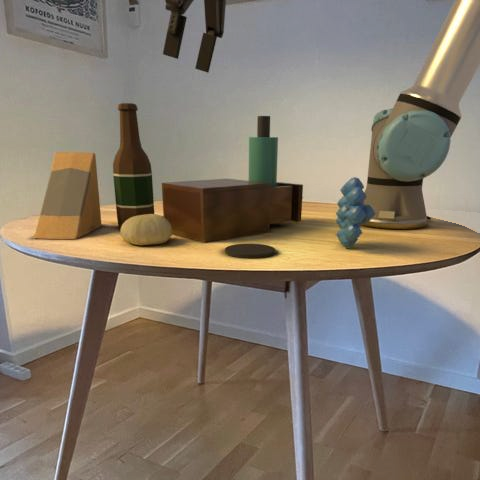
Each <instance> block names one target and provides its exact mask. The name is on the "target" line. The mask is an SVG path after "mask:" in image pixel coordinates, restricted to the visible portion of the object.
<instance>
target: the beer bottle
mask: <svg viewBox="0 0 480 480" xmlns="http://www.w3.org/2000/svg"><path fill="white" fill-rule="evenodd" d="M117 110H118V111H119V136H120V137H119V148H118V150H117V151H116V153H115V155H114V158H113V161H112V162H113V163H112V175H113V187H114V199H115V209H116V219H117V226H118V228H119V229H121V226H122V225H123V223H124V222H125V221H126V220H128V219H129V218H131V217H134V216H138V215H145V214H155V199H154V185H153V184H154V183H153V171H152V163H151V161H150V158H149V156H148V154H147V152H146V151H145V150H144V149H143V147H142V142H141V138H140V131H139V122H138V114H137V112H138V110H139V108H138V105H137V104H135V103H131V102H121V103H118V105H117Z"/></svg>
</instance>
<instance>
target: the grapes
mask: <svg viewBox="0 0 480 480" xmlns="http://www.w3.org/2000/svg"><path fill="white" fill-rule="evenodd" d="M364 188H365V186H364V183H363V182H362V181H361V179H360V178H359V177H356V176H354V177H351V178H350V179H349V180H348V181H346V182H345V183H344V184H343V186H342V187H341V188H340V189H339V190H340V192H341V194H342V195H343V196H342V197H340V199H339V200H338V201H337V202H336V204H337V206H338V208H339V209H337V211H336V212H335V215H336V219H335V223H336V224H337V225H338V227H339V228H340V229H339V230H338V231H337V232H336V234H335V235H336V237H337V238H338V241H339V243H340V244H341V245H342V246H343V248H345V249H349V248H352V247H353V246H354V245H355V244H356V243H357V241H358V240H359V239H358V238H359V237H361V235H362V234H363V231H362V229H361V227H362V226H363V225H362V224H363V223H366V222H369V221H370V220H371V219H372V218H373V217H374V215H375V212H374V210H373V209H372V207H371V206H370V205H365V204H364V203H363V202H364V200H365V199H366V197H367V196H366V195H365V193H364V192H365V191H364Z"/></svg>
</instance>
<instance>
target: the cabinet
mask: <svg viewBox="0 0 480 480" xmlns="http://www.w3.org/2000/svg"><path fill="white" fill-rule="evenodd" d="M161 195H162V196H161V197H162V213H163V215H162V217H164V218H165V219H167V220H168V222H169V223H170V224H171V227H172V235H175V236H178V237H183V238H187V239H189V240H193V241H196V242H197V241H198V242H201V243H209V242H215V241H216V242H217V241H222V240H229V239H234V238H240V237H245V236H251V235H252V236H253V235H258V234H263V233H270V224H269V222H270V183H265V182H255V181H249V180H246V179H245V180H244V179H237V178H236V179H235V178H215V179H199V180H183V181H169V182H168V181H166V182H161Z"/></svg>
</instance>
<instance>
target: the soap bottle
mask: <svg viewBox="0 0 480 480" xmlns="http://www.w3.org/2000/svg"><path fill="white" fill-rule="evenodd" d="M256 121H257V125H256V126H257V127H256V130H257V131H256V136H250V137H249V136H248V181H255V182H265V183H270V187H277V182H278V155H279V152H278V151H279V137H278V136H272V137H271V115H257V120H256Z"/></svg>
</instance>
